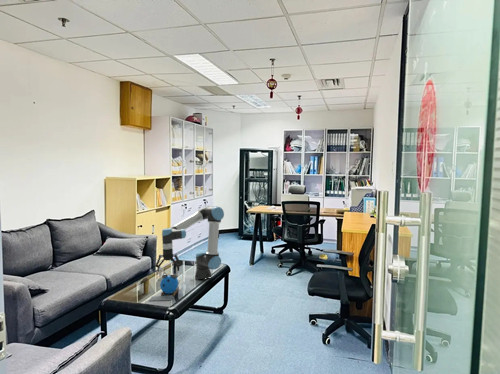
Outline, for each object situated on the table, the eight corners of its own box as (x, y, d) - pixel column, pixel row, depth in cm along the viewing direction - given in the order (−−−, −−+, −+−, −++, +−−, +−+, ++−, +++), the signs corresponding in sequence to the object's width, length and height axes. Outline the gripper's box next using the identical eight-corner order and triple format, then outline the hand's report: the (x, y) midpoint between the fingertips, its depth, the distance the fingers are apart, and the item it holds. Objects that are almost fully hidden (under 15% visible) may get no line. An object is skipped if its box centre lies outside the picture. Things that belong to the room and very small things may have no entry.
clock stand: (178, 289, 270) (178, 286, 270) (174, 296, 255) (173, 293, 255) (166, 289, 270) (166, 286, 270) (161, 296, 255) (160, 293, 255)
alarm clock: (179, 291, 264) (178, 272, 264) (177, 293, 258) (176, 274, 258) (162, 291, 265) (161, 273, 264) (160, 294, 258) (159, 275, 258)
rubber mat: (173, 296, 254) (173, 295, 254) (170, 300, 246) (170, 299, 246) (152, 297, 254) (152, 296, 254) (148, 301, 246) (148, 300, 246)
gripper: (150, 249, 257) (151, 277, 257) (182, 249, 256) (183, 276, 257) (153, 247, 265) (154, 274, 265) (184, 247, 264) (185, 273, 264)
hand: (168, 275), depth 261 cm, fingers open, 13 cm apart
